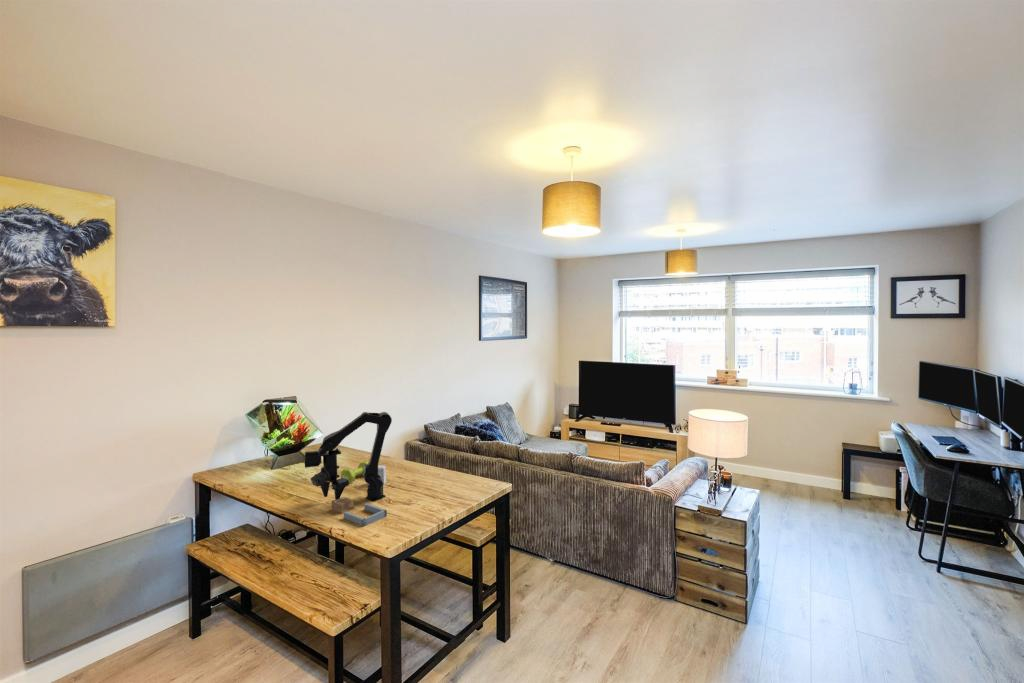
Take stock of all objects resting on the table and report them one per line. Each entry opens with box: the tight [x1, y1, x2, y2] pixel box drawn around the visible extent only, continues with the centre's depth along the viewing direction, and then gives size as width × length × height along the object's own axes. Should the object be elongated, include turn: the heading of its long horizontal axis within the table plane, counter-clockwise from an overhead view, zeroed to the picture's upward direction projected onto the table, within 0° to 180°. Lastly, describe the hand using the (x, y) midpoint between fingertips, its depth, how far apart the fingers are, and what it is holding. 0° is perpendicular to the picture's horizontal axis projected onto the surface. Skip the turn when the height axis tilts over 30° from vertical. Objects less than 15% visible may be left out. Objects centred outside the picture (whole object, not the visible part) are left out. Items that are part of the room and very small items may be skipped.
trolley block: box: [331, 496, 355, 515], centre depth 201 cm, size 6×7×4 cm
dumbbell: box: [340, 460, 369, 485], centre depth 239 cm, size 16×8×7 cm, turn 156°
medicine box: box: [367, 465, 387, 486], centre depth 231 cm, size 8×4×9 cm, turn 92°
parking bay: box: [343, 503, 388, 527], centre depth 192 cm, size 11×13×2 cm
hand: (331, 499), depth 206 cm, fingers open, 8 cm apart
